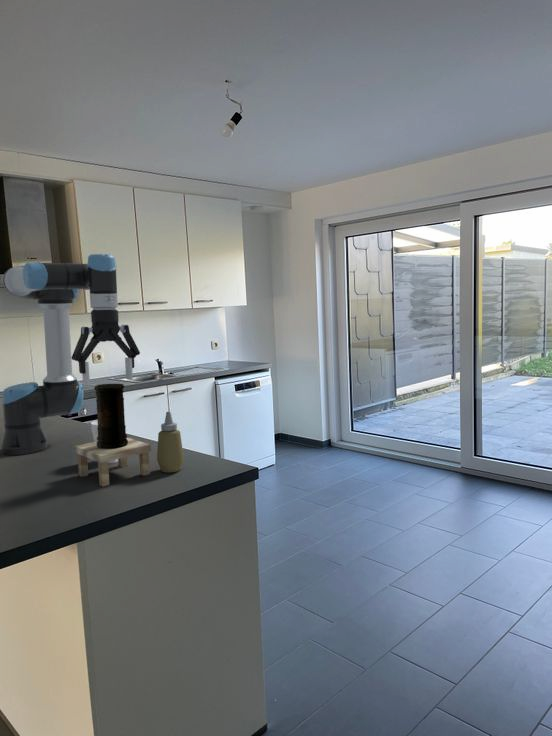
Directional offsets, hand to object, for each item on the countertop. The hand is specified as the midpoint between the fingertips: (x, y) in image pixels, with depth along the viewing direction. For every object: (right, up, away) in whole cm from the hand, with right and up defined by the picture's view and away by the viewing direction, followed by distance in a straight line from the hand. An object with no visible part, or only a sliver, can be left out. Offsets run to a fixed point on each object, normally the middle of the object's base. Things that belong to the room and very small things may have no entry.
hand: (108, 382), depth 161 cm
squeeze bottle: (+17, -27, +6) cm, 33 cm away
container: (+1, -19, +2) cm, 19 cm away
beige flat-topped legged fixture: (+1, -28, +3) cm, 28 cm away
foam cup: (-5, -26, +18) cm, 32 cm away
